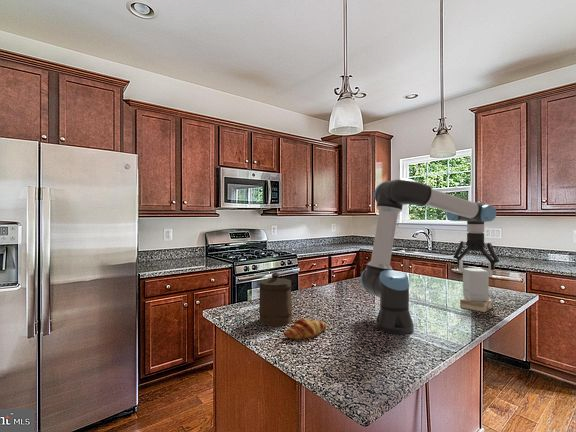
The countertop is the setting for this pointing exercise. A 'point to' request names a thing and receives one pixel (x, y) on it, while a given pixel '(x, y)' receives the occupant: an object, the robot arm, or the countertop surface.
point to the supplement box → (476, 284)
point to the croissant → (305, 329)
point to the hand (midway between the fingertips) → (475, 274)
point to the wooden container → (275, 301)
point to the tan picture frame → (476, 304)
